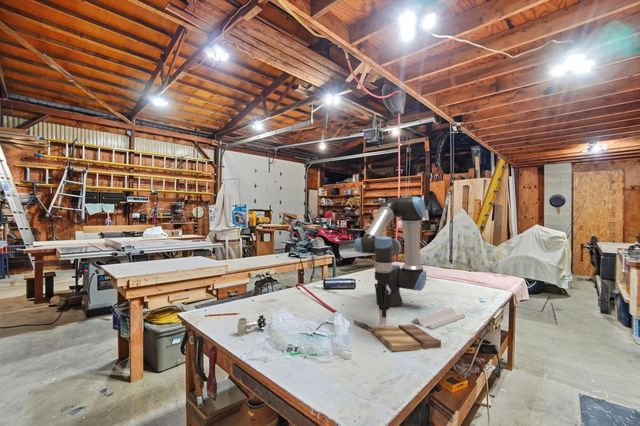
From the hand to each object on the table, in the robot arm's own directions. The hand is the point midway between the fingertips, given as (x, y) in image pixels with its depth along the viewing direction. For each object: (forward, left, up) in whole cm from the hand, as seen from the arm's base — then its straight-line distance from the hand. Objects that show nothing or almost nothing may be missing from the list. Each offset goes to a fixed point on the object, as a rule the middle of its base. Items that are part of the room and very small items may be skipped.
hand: (382, 323), depth 128 cm
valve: (-13, -58, -5) cm, 59 cm away
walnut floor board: (+7, +13, -5) cm, 16 cm away
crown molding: (-11, +37, -5) cm, 39 cm away
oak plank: (+7, +2, -4) cm, 9 cm away
